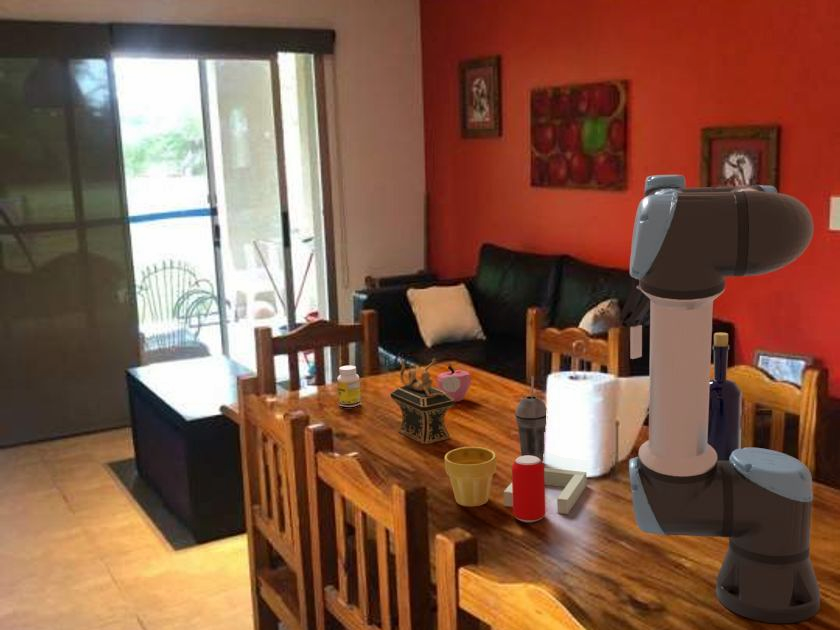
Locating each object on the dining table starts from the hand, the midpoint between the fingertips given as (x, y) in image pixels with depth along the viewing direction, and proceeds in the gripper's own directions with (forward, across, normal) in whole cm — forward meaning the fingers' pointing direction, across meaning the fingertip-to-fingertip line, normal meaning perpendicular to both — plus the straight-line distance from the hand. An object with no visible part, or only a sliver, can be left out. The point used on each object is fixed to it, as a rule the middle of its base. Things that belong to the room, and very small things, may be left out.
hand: (664, 363), depth 177 cm
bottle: (+27, -1, -18) cm, 33 cm away
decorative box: (+27, +65, +11) cm, 71 cm away
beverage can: (+28, +11, +28) cm, 41 cm away
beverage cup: (+27, +30, +6) cm, 41 cm away
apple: (+27, +80, -13) cm, 85 cm away
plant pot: (+28, +25, +30) cm, 48 cm away
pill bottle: (+27, +98, +10) cm, 102 cm away
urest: (+27, +16, +17) cm, 36 cm away
